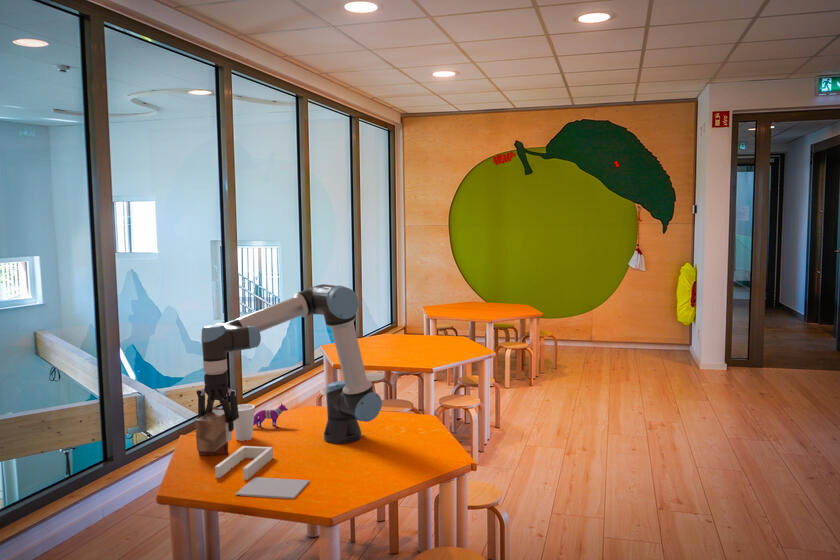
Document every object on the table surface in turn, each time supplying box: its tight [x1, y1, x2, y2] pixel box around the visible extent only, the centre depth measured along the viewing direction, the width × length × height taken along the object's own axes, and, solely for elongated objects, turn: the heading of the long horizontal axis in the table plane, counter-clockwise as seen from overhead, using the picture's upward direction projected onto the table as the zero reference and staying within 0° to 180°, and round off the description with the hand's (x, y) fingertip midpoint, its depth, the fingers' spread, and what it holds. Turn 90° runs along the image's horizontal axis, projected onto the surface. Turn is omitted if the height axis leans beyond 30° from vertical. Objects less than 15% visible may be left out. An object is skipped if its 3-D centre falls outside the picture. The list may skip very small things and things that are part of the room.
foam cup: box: [233, 403, 256, 442], centre depth 277 cm, size 10×9×13 cm
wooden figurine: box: [196, 406, 229, 456], centre depth 260 cm, size 12×6×18 cm, turn 96°
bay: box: [214, 445, 274, 481], centre depth 245 cm, size 12×22×4 cm, turn 169°
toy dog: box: [253, 401, 289, 430], centre depth 291 cm, size 4×18×10 cm, turn 99°
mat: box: [235, 476, 311, 500], centre depth 225 cm, size 20×14×1 cm
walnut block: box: [194, 409, 227, 452], centre depth 223 cm, size 6×12×10 cm, turn 168°
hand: (219, 440), depth 226 cm, fingers closed on walnut block, 6 cm apart
